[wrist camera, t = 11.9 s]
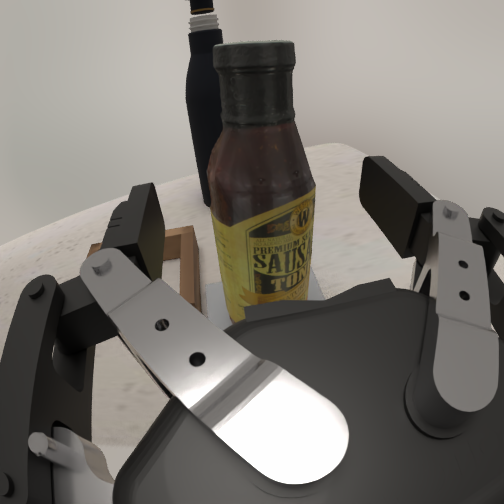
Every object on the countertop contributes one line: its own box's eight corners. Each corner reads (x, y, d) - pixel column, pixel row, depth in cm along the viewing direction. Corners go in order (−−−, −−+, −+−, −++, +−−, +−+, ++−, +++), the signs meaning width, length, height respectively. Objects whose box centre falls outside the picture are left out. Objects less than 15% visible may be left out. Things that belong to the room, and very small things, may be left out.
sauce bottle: (268, 362, 21) (237, 42, 9) (214, 316, 25) (155, 55, 12) (323, 310, 24) (339, 40, 12) (269, 275, 28) (251, 40, 15)
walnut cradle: (81, 339, 24) (66, 319, 22) (101, 264, 32) (91, 244, 30) (202, 325, 25) (194, 302, 23) (198, 247, 33) (193, 225, 31)
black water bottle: (242, 181, 44) (219, -23, 25) (257, 201, 39) (234, -35, 20) (199, 192, 43) (166, -17, 24) (209, 214, 38) (171, -30, 19)
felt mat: (214, 374, 21) (212, 370, 21) (206, 289, 28) (205, 284, 28) (342, 348, 22) (343, 344, 22) (310, 270, 29) (310, 266, 29)
